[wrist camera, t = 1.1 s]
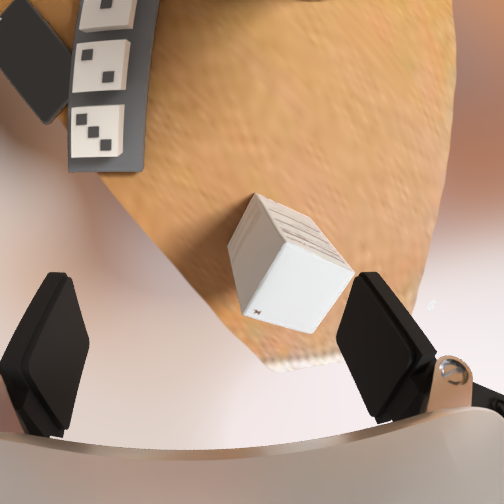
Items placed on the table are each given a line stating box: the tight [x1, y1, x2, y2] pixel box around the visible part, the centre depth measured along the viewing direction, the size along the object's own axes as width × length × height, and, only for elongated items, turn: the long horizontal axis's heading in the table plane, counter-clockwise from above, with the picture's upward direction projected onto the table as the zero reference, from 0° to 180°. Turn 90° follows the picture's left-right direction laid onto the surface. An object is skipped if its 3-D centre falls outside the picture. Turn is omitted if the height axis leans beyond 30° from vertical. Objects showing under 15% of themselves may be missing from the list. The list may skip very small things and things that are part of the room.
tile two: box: [72, 39, 131, 93], centre depth 22 cm, size 5×5×2 cm
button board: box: [68, 0, 160, 172], centre depth 25 cm, size 21×8×2 cm, turn 173°
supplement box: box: [227, 193, 355, 334], centre depth 31 cm, size 7×7×13 cm
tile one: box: [79, 0, 137, 33], centre depth 19 cm, size 5×5×2 cm
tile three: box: [71, 104, 125, 158], centre depth 25 cm, size 5×5×2 cm
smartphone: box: [0, 0, 72, 125], centre depth 22 cm, size 7×1×16 cm
